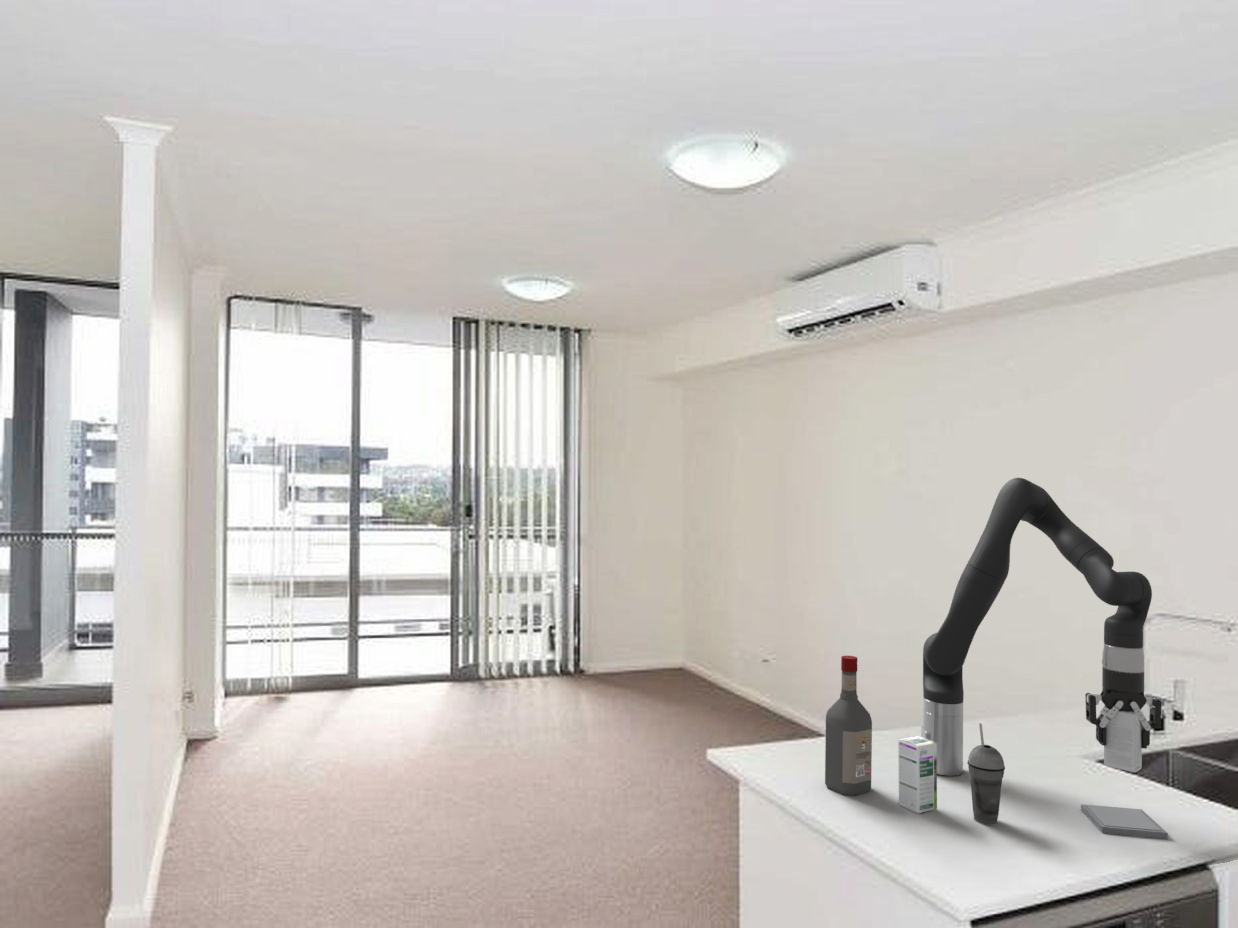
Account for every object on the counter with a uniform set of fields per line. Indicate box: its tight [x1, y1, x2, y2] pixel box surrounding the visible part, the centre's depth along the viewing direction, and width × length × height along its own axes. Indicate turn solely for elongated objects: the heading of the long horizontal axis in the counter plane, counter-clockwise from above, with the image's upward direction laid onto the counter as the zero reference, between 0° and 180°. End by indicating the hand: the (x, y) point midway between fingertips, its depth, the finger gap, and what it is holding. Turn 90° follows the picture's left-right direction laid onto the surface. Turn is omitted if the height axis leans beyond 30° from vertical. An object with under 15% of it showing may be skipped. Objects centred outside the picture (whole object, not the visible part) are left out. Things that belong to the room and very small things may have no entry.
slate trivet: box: [1080, 803, 1169, 840], centre depth 171 cm, size 12×12×1 cm
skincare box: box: [1103, 708, 1143, 773], centre depth 171 cm, size 6×4×12 cm
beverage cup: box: [966, 722, 1006, 826], centre depth 171 cm, size 7×7×20 cm
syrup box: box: [897, 735, 938, 814], centre depth 178 cm, size 6×6×14 cm
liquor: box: [824, 655, 873, 797], centre depth 188 cm, size 9×9×30 cm
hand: (1122, 745), depth 171 cm, fingers closed on skincare box, 7 cm apart
